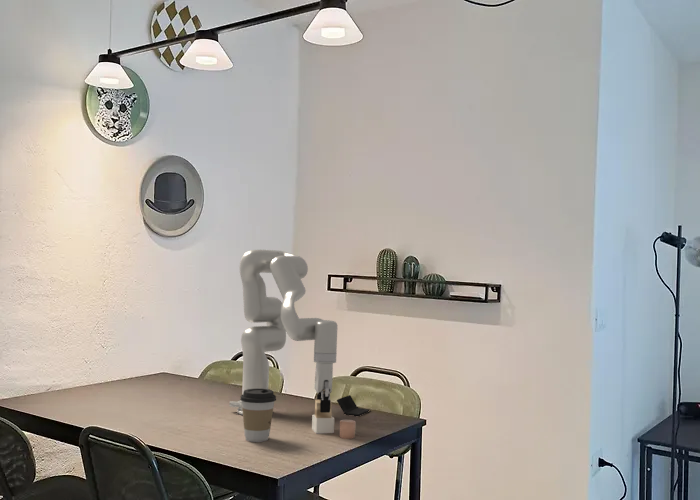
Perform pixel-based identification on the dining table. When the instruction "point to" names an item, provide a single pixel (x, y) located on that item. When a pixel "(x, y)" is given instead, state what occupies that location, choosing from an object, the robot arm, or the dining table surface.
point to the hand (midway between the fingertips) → (323, 409)
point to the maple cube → (318, 413)
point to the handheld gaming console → (350, 406)
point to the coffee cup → (257, 413)
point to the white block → (322, 425)
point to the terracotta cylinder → (347, 429)
